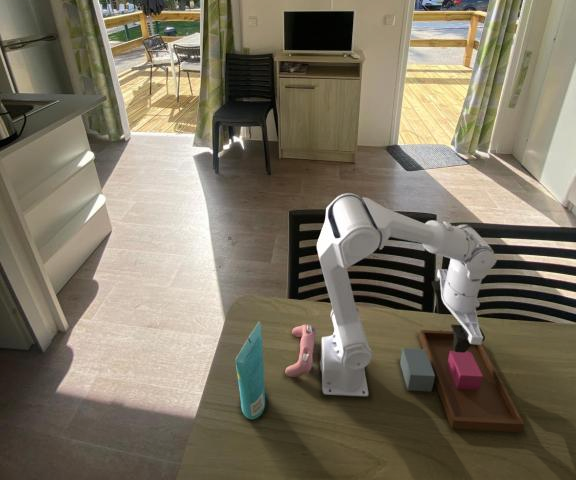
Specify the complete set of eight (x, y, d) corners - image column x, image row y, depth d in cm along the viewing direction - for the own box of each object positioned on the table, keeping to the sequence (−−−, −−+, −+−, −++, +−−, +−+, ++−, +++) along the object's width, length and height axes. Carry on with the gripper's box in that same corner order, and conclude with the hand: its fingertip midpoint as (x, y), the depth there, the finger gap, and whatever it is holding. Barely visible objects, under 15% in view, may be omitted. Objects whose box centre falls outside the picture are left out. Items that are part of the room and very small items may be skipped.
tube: (252, 378, 64) (248, 315, 58) (272, 389, 62) (270, 325, 56) (232, 420, 58) (226, 354, 52) (254, 434, 56) (249, 368, 50)
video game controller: (301, 386, 64) (316, 371, 62) (282, 376, 64) (297, 360, 62) (307, 338, 73) (320, 323, 71) (291, 328, 73) (304, 313, 71)
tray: (451, 428, 57) (453, 420, 56) (419, 337, 72) (420, 329, 71) (521, 432, 56) (524, 424, 55) (474, 339, 72) (476, 332, 71)
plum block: (456, 389, 62) (460, 375, 61) (446, 364, 66) (450, 350, 65) (478, 390, 62) (483, 376, 60) (467, 365, 66) (471, 351, 65)
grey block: (407, 390, 62) (410, 375, 61) (399, 362, 67) (402, 347, 66) (431, 391, 62) (435, 376, 61) (422, 363, 67) (425, 348, 65)
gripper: (505, 321, 53) (489, 371, 57) (463, 254, 66) (453, 299, 71) (465, 319, 53) (452, 369, 57) (431, 253, 67) (423, 297, 71)
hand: (450, 330), depth 64 cm, fingers open, 7 cm apart
